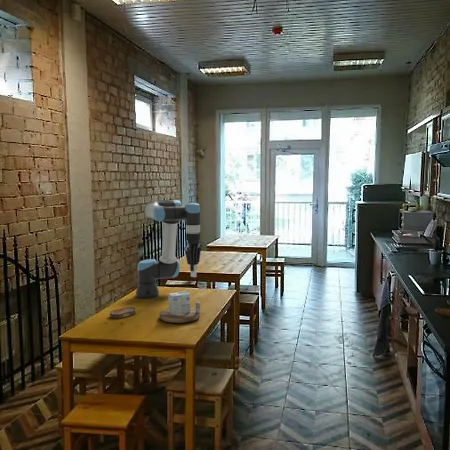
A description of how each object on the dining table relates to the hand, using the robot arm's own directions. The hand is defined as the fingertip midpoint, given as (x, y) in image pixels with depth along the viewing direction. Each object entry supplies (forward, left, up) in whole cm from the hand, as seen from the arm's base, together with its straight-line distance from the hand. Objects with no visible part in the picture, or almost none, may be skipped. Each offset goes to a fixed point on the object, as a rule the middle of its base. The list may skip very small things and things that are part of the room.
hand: (193, 276), depth 242 cm
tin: (+12, -45, -23) cm, 52 cm away
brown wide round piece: (0, -10, -23) cm, 25 cm away
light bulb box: (0, -10, -22) cm, 24 cm away
